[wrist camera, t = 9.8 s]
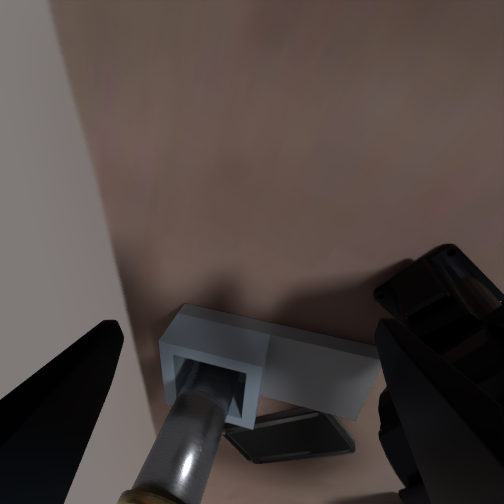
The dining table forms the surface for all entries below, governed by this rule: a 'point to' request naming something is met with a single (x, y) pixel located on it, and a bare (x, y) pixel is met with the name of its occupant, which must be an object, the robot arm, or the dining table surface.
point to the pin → (186, 440)
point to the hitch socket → (268, 363)
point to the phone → (290, 436)
